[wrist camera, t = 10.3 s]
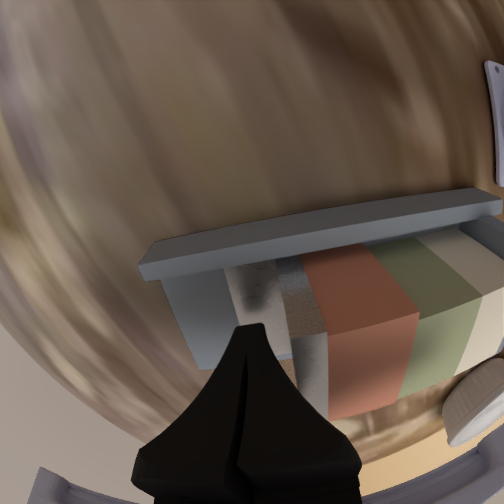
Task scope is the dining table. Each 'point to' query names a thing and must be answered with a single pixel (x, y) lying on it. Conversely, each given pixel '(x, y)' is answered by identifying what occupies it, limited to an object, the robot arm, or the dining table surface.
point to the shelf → (299, 252)
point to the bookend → (285, 319)
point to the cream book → (483, 280)
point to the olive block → (431, 310)
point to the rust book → (361, 328)
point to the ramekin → (475, 403)
